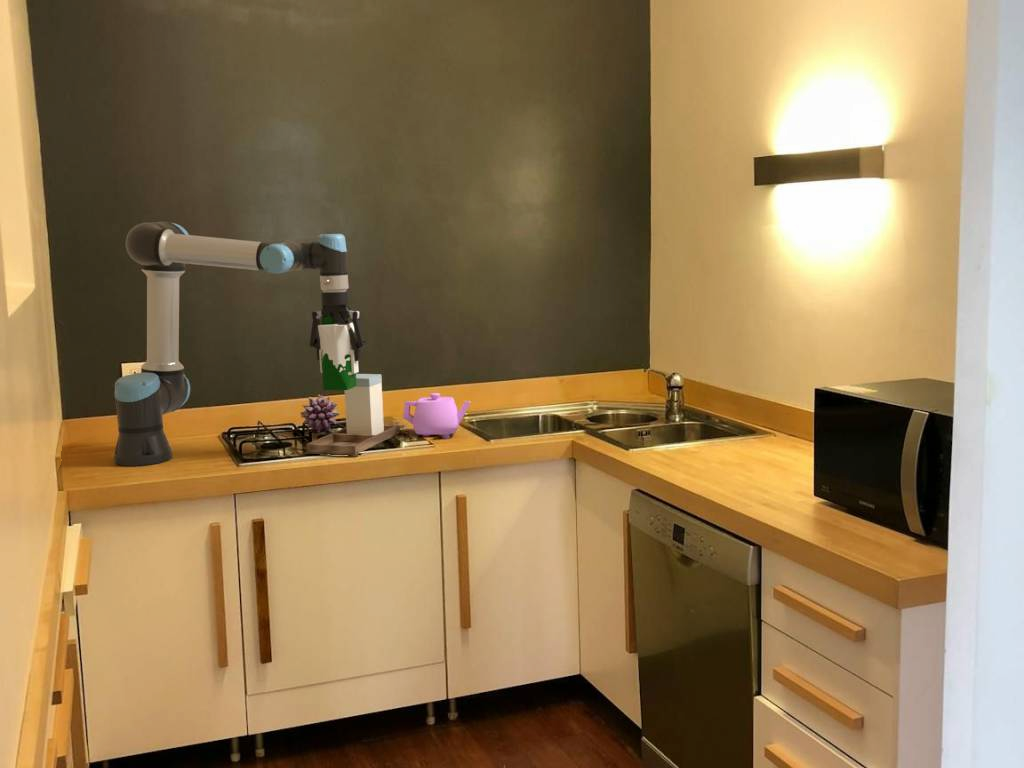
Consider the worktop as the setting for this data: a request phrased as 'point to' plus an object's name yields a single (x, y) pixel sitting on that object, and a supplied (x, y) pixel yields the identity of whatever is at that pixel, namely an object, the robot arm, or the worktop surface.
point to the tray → (349, 442)
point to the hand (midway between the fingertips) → (339, 372)
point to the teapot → (435, 415)
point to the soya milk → (336, 355)
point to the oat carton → (365, 405)
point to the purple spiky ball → (319, 414)
